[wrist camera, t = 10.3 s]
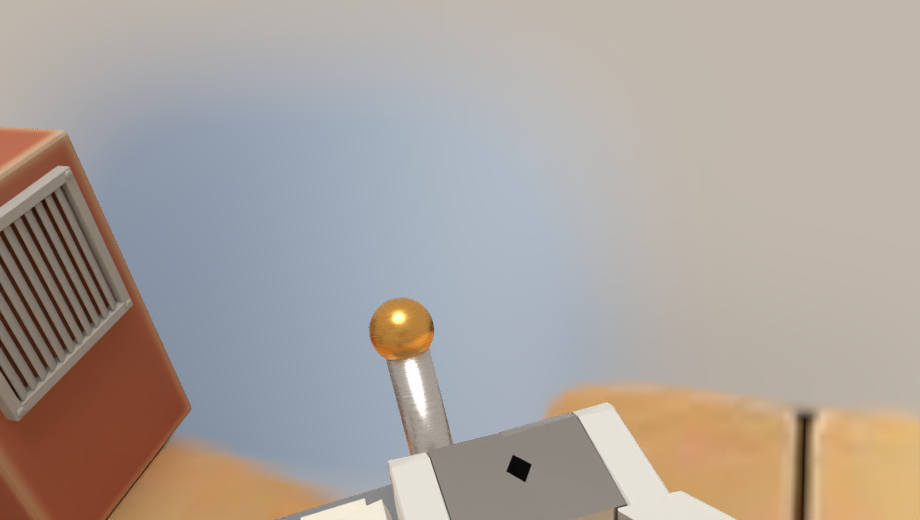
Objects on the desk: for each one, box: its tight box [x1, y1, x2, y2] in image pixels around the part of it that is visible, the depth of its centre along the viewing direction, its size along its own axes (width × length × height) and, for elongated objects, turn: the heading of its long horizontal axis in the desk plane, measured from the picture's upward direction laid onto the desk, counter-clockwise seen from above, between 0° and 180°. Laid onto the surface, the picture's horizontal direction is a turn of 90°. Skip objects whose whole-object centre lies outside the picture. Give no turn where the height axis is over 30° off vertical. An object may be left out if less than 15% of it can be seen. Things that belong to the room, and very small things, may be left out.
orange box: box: [0, 127, 191, 520], centre depth 45 cm, size 21×7×15 cm
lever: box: [369, 298, 453, 455], centre depth 33 cm, size 3×3×14 cm
